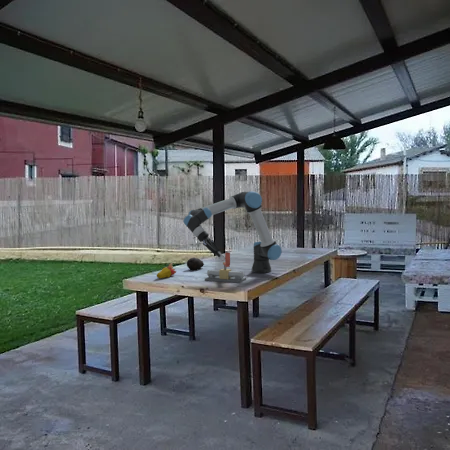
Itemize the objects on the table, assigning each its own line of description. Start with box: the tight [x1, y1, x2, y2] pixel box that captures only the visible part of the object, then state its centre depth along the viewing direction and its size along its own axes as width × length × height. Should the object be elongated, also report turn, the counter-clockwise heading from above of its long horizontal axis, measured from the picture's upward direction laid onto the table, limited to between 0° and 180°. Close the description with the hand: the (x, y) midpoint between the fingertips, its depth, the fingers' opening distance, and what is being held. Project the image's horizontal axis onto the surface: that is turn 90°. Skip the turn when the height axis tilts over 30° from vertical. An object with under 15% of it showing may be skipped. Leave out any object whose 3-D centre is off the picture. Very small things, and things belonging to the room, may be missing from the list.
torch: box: [156, 262, 177, 279], centre depth 353 cm, size 8×8×25 cm
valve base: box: [204, 265, 247, 284], centre depth 336 cm, size 12×26×11 cm, turn 66°
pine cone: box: [186, 257, 205, 272], centre depth 390 cm, size 10×18×10 cm, turn 160°
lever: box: [222, 252, 231, 268], centre depth 330 cm, size 15×3×9 cm, turn 8°
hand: (223, 259), depth 323 cm, fingers closed
